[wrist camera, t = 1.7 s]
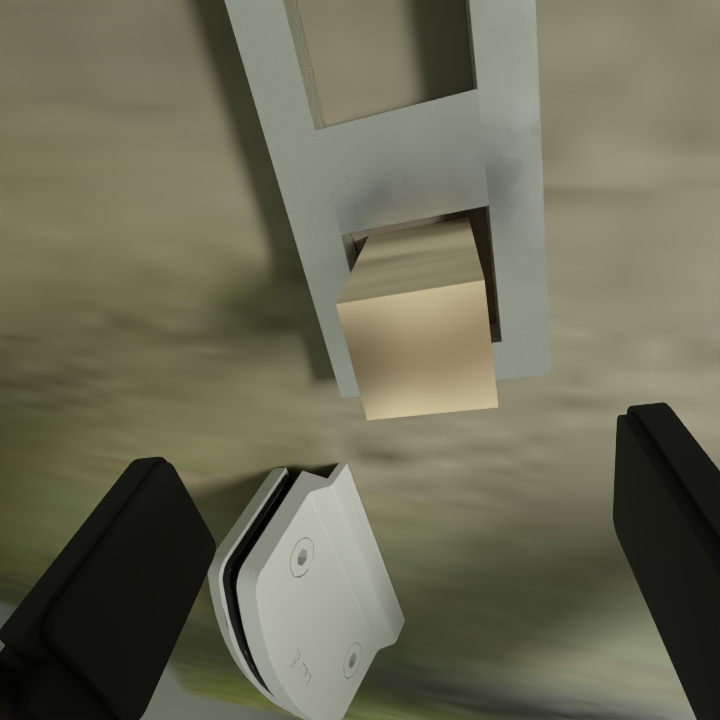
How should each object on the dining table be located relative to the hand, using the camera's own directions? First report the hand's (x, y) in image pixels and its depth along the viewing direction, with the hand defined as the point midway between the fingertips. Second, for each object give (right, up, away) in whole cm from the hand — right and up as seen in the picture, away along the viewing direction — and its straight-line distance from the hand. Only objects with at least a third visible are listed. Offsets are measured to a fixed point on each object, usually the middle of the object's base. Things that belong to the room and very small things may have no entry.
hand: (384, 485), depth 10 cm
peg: (+2, +7, +12) cm, 14 cm away
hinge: (-3, -11, +23) cm, 26 cm away
